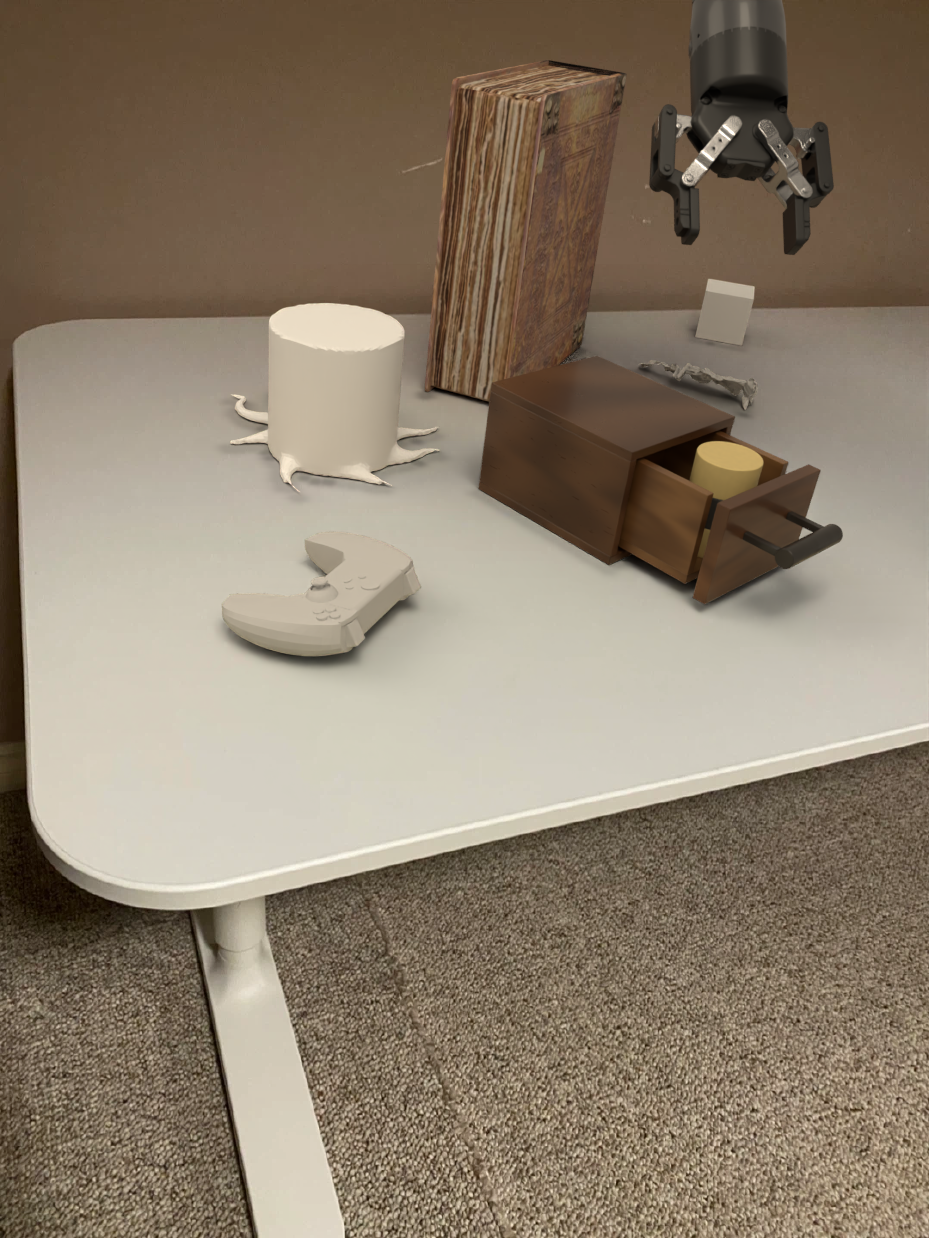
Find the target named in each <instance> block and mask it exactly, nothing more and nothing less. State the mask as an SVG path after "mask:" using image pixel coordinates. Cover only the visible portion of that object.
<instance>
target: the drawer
mask: <svg viewBox="0 0 929 1238" xmlns="http://www.w3.org/2000/svg"><path fill="white" fill-rule="evenodd" d="M712 441H722V442H730V443H735V444H739V445H742V446H745V447H747V448H749V449H752V450H753V451H755V452H757V453H758V454H759V455H760V456H761V457H762V459H763V462H764V463H763V467H762V471H761V474H760V478H759V481H758V485H757V486H756V487H754V488H752V489H749V490H747V491H745V492H742V493H740V494H737V495H735V496H733V497H730V498H728V499H726V500H723V501H721V502H719V503H717V507H716V511H715V514H714V518H713V522H712V526H711V530H710V533H709V537H708V541H707V545H706V548H705V552H704V556H703V558H700V557H697V556H698V552H699V548H700V544H701V540H702V537H703V533H704V529H705V525H706V521H707V517H708V514H709V510H710V506H711V502H712V498H713V494H714V493H713V492H711V491H709V490H707V489H705V488H703V487H701V486H699V485H697V484H695V483H693V482H691V481H689V480H690V476H691V472H692V467H693V463H694V459H695V455H696V451H697V448H698V447H699V446H700V445H701V444H703V443H706V442H712ZM789 463H790V462H789V461H787V460H786V459H783V458H782V457H779V456H777V455H775V454H772V453H770V452H768V451H765V450H763V449H761V448H759V447H757V446H754V445H753V444H750V443H748V442H746V441H744V440H742V439H739V438H738V437H735V436H733V435H731V434H730V435H728V434H726V433H724V432H722V431H720V430H718V431H715V432H712V433H709V434H707V435H704V436H701V437H698V438H695V439H692V440H690V441H687V442H684V443H681V444H678V445H676V446H673V447H670V448H667V449H664V450H662V451H659V452H656V453H653V454H650V455H648V456H645V457H642V458H639V459H636V465H635V469H634V474H633V479H632V483H631V488H630V493H629V498H628V502H627V507H626V512H625V517H624V521H623V526H622V531H621V535H620V540H619V545H618V546H619V547H621V548H623V549H624V550H626V551H628V552H630V553H631V554H633V555H632V556H635V557H636V558H638V559H640V560H642V561H644V562H645V563H647V564H649V565H651V566H653V567H654V568H656V569H658V570H659V571H661V572H663V573H665V574H667V575H669V576H670V577H672V578H674V579H675V580H677V581H679V582H681V583H682V584H684V585H687V583H690V582H692V581H694V580H696V583H695V586H694V590H693V595H692V598H693V600H696V601H698V602H699V603H701V604H702V605H706V604H709V603H710V602H712V601H715V600H716V599H718V598H720V597H721V596H724V595H727V594H728V593H729V592H732V591H733V590H736V589H738V588H740V587H741V586H744V585H746V584H748V583H749V582H751V581H753V580H755V579H757V578H759V577H761V576H763V575H765V574H766V573H768V572H770V571H772V570H774V569H776V568H778V567H779V568H781V569H782V570H783V569H784V570H789V569H791V568H793V567H795V566H797V565H799V564H801V563H802V562H805V561H806V560H809V559H810V558H812V557H814V556H816V555H818V554H820V553H822V552H824V551H825V550H828V549H829V548H832V547H833V546H835V545H837V544H840V542H842V539H843V537H844V534H843V530H842V528H841V527H840V525H837V524H836V523H828V524H827V525H825V526H824V525H822V524H820V523H817V522H815V521H814V520H812V519H809V518H807V515H808V512H809V509H810V505H811V502H812V499H813V496H814V493H815V490H816V486H817V484H818V481H819V478H820V474H821V469H820V468H818V467H816V466H813V465H811V464H805V465H804V466H801V467H798V468H796V469H794V470H792V471H790V472H787V470H788V466H789ZM803 528H804V529H805V530H807V531H809V532H810V533H809V534H807V535H805V536H802V537H800V536H801V533H802V531H803Z"/></svg>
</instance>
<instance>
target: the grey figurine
mask: <svg viewBox="0 0 929 1238" xmlns="http://www.w3.org/2000/svg"><path fill="white" fill-rule="evenodd" d="M655 364H657V366H659V365H661V366H663V369H664V372H670V373H672V378H675V380H676V381H678V382H680V381H681V380H682V379H683V378H684V377H685V375H689V376H690V378H691V379H692V380H693V381H695V382H697V383H698V384H709V383H712V382H714V383H715V384H716V385H719V386H721V387H723V388H724V389H725V390H727V391H729V392H730V394H732V395H733V396H736V397H737V396H739V395H741V394H743V396H742V397H741V403H742V408H743V409H744V411H746V410H747V408H748V407H749V405H750V406H752V402H753V401H754V397H756V396H757V394H758V390H759V388H758V387H759V385H758V382H757V381H756V380H755V378H753V377H751V378H749V379H748V380H745V379H737V378H735V377H732V376H731V375H725V376H724V375H719V374H718V373H714V372H713V370H710V369H709V368H708V367H705V368H701V367H699V366H697V365H692V364H691V363H690V362H689V363H688V362H687V363H685V365H684V366H683V368H680V365H678V364H677V363H676V364H675V363H671V365H669V364H668V363H666V362H664V361H659V360H656V359H650V360H649V361H648V363H646V362H640V363H639V364H638V366H640V367H641V368H642V369H643V368H646V367H649V368H653V365H655ZM741 392H742V393H741Z"/></svg>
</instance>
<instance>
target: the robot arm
mask: <svg viewBox="0 0 929 1238" xmlns="http://www.w3.org/2000/svg"><path fill="white" fill-rule="evenodd" d="M690 17H691V19H690V25H689V38H688V39H689V43H688V48H687V55H688V60H689V84H690V86H689V87H690V88H689V89H690V113H691V115H686V114H681V113H678V110H677V108H676V106H674V105H673V104H671V103H670V104H669V103H668V104H665V105H663V107H662V108H661V110H660V111H659V114H658V115H657V117H656V119H655V121H654V122H653V125H651V126H652V127H651V139H650V142H651V143H650V163H649V180H648V181H649V182H648V185H649V186H648V187H649V188H650V190H651V191H653V192H654V193H661V192H664V193H666V194H668V195H669V196H670V197H671V198H672V201H673V231H674V233H675V236H676V237H677V238H680V243H681V245H684V246H692V245H693V244H694V242H696V239H698V237H699V235H700V233H701V231H700V230H701V215H700V214H701V213H700V188H698V187H697V186H698V184H699V183H700V182H701V181H702V179H704V177H705V176H706V175H707V174H708V172H709V171H711V172H712V173H714V174H716V177H717V179H718V178H719V179H720V178H721V179H732V178H738V179H740V180H744V181H747V182H749V181H750V182H755V181H756V180H758V181H759V183H760V184H761V185H762V187H763V188H764V189H765V191H766V192H767V193H769V194H773V195H774V196H775V197H776V198H777V200H778V201H779V202H780V204H781V205H782V207H783V208H784V211H783V212H782V237H783V238H782V239H783V254H784V255H786V256H787V255H789V256H796V254H797V253H798V252H799V251H800V250H801V249H802V248H803V247H804V246H805V244H806V243H807V242H808V241H809V240H810V237H811V212H810V211H811V209H815V208H818V206H820V204H821V203H822V201H823V200H824V199H825V198H826V197H828V195H829V194H830V193H831V192H832V191H833V190H834V188H835V185H834V175H833V166H832V165H833V164H832V156H831V145H830V144H831V143H830V136H829V127H828V125H827V124H826V123H825V122H823V121H816V122H815V123H814V124H813V126H812V127H810V128H809V127H794V126H793V124H792V122H791V119H789V115H788V106H789V78H788V77H789V75H788V50H787V49H788V48H787V47H788V46H787V21H786V14H785V9H784V4H783V0H691V16H690ZM683 134H684V135H685V134H686V138H687V139H688V141H689V142H690V144H691V145H692V147H693V148H694V149H695V151H696V152H697V153H698V155H697V156H696V158H694V160H693V161H692V162H691V164H690V165H689V166H688V167H687V168H686V170H685V171H684V172H683V171H681V170H679V169H676V168H675V167H676V147H677V145H676V144H677V143H678V142H679V141H680V139H681V137H682V136H683ZM788 146H791V147H793V148H794V151H795V153H796V154H795V155H794V154H793V152H791V150H790V148H789V147H788ZM798 160H800V162H801V163H800V164H801V171H800V169H799V168H800V167H799V166H800V164H799V161H798ZM775 163H776V165H777V167H778V170H777V172H775V171H774V170H773V168H772V167H773V166H774V164H775Z"/></svg>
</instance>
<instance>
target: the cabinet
mask: <svg viewBox="0 0 929 1238" xmlns="http://www.w3.org/2000/svg"><path fill="white" fill-rule="evenodd" d="M735 419H736V416H735V415H733V414H731V413H728V412H726V411H723V410H721V409H719V408H717V407H714V406H712V405H710V404H708V403H705V402H703V401H701V400H699V399H697V398H694V397H691V396H689V395H687V394H685V393H683V392H681V391H678V390H676V389H674V388H671V387H669V386H667V385H665V384H662V383H660V382H658V381H656V380H653V379H652V378H649V377H647V376H644V375H643V374H640V373H637V372H635V371H633V370H631V369H629V368H626V367H624V366H622V365H619V364H617V363H615V362H613V361H611V360H609V359H606V358H604V357H602V356H599V355H594V356H590V357H585V358H581V359H578V360H574V361H570V362H566V363H561V364H559V365H558V366H554V367H550V368H546V369H542V370H538V371H534V372H531V373H527V374H523V375H519V376H515V377H511V378H507V379H503V380H499V381H495V382H492V383H491V392H490V400H489V401H488V409H487V416H486V425H485V433H484V441H483V447H482V448H483V450H482V458H481V463H480V464H481V466H480V474H479V481H478V490H479V491H481V492H483V493H485V494H486V495H488V496H490V497H492V498H493V499H495V500H497V501H499V502H500V503H502V504H504V505H506V506H507V507H509V508H510V509H512V510H514V511H516V512H517V513H520V515H522V516H524V517H526V518H528V519H529V520H531V521H532V522H534V523H537V524H538V525H539V526H541V527H543V528H545V529H546V530H548V531H550V532H552V533H553V534H554V535H557V536H558V537H560V538H561V539H563V540H565V541H567V542H569V543H570V544H572V545H574V546H576V547H577V548H579V549H580V550H582V551H584V552H586V553H588V554H589V555H591V556H593V557H594V558H596V559H598V560H600V561H601V562H602V563H605V564H606V565H608V566H610V565H612V564H615V563H617V562H619V561H621V560H624V559H626V558H628V557H631V556H634V555H633V554H631V553H630V552H628V551H626V550H624V549H623V548H621V547H619V546H618V545H619V540H620V535H621V531H622V526H623V521H624V517H625V512H626V507H627V502H628V498H629V493H630V488H631V483H632V479H633V474H634V469H635V465H636V459H639V458H642V457H645V456H648V455H650V454H653V453H656V452H659V451H662V450H664V449H667V448H670V447H673V446H676V445H678V444H681V443H684V442H687V441H690V440H692V439H695V438H698V437H701V436H704V435H707V434H709V433H712V432H715V431H718V430H720V431H722V432H724V433H726V434H728V435H731V434H732V430H733V426H734V422H735Z"/></svg>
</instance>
